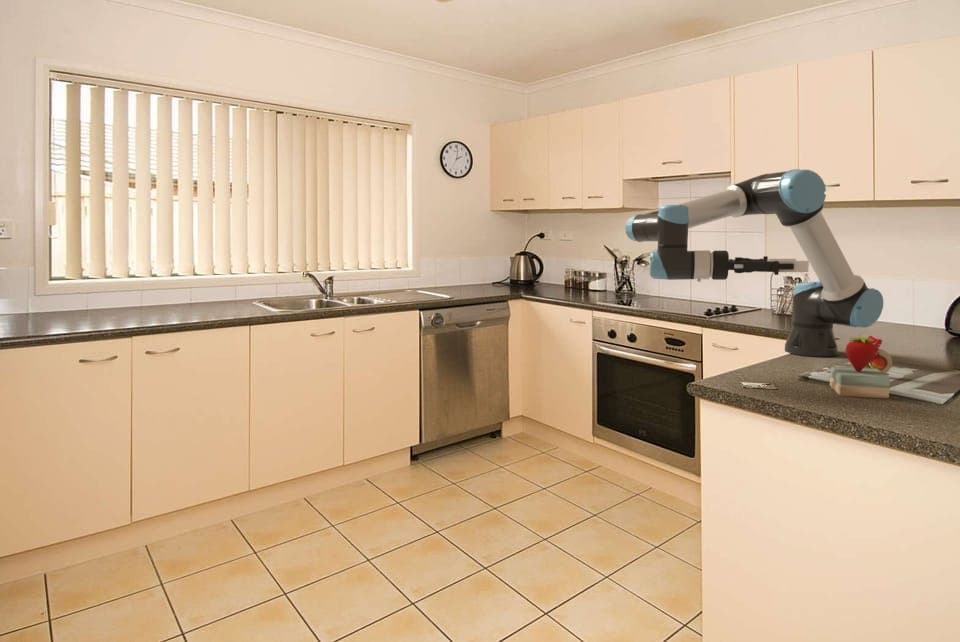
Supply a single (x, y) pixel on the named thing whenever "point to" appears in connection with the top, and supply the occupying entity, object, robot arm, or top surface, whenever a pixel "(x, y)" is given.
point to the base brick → (860, 382)
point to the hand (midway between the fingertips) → (801, 265)
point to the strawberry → (860, 352)
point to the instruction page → (753, 384)
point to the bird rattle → (879, 357)
